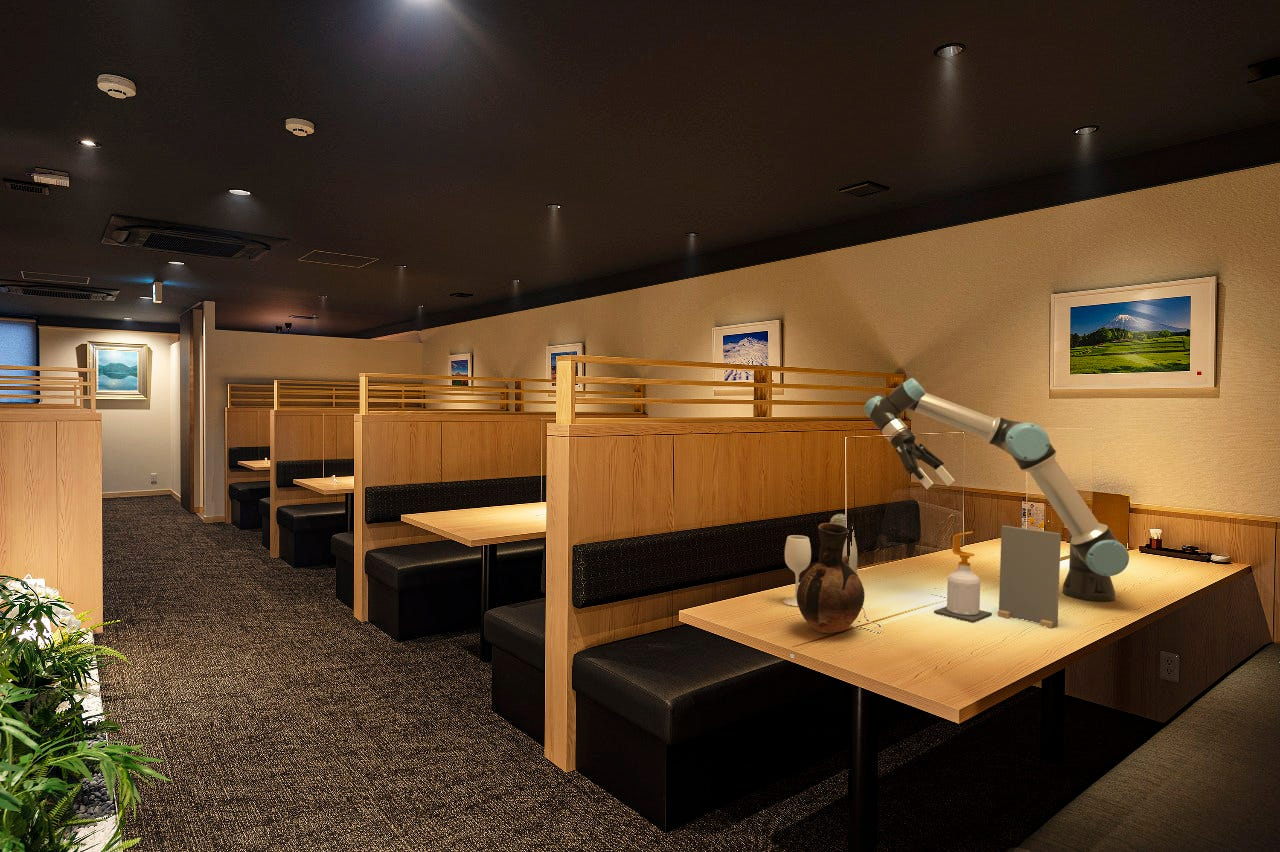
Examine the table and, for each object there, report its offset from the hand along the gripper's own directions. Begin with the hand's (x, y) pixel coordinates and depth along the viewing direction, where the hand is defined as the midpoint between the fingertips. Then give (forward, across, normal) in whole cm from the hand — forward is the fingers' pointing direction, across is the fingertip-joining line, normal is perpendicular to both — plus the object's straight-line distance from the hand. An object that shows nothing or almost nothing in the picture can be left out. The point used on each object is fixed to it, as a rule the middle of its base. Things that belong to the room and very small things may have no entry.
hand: (941, 485), depth 237 cm
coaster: (+35, +7, -18) cm, 40 cm away
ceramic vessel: (+24, +52, -30) cm, 64 cm away
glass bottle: (+12, +24, -41) cm, 49 cm away
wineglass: (+8, +37, -46) cm, 60 cm away
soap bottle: (+34, +7, -18) cm, 39 cm away
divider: (+46, -2, -8) cm, 46 cm away
